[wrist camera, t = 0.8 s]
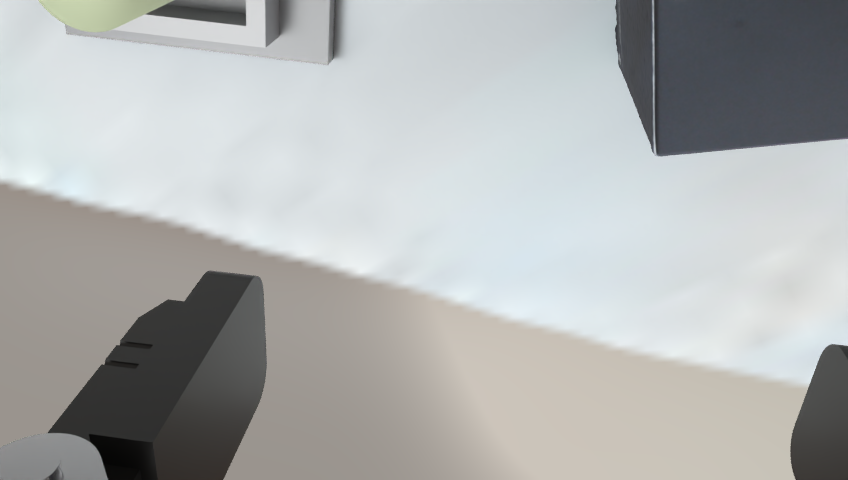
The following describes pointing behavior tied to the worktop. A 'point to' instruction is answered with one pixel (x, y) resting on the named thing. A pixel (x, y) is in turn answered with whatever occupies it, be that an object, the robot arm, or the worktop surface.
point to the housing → (236, 28)
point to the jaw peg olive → (99, 12)
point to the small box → (735, 71)
